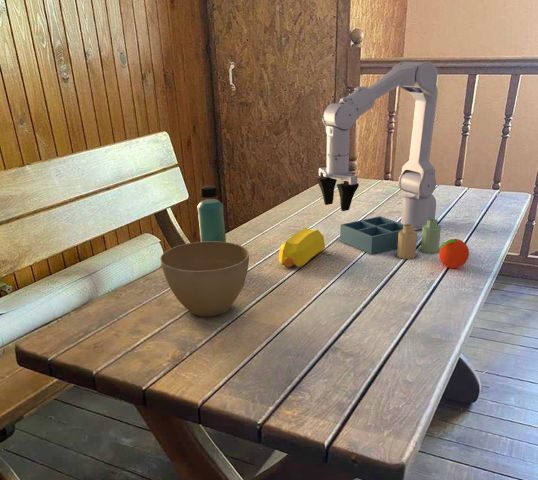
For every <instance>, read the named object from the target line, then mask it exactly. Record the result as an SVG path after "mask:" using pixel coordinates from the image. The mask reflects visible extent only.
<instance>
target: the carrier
mask: <svg viewBox="0 0 538 480" xmlns="http://www.w3.org/2000/svg"><path fill="white" fill-rule="evenodd" d="M398 222H399V221H395V220H392V219H389V218H386V217H384V216H381V215H378V216H375V217H370V218H364V219H359V220H356V221H355V220H354V221H351V222H346V223H341V224H340V227H339V228H340V229H339V232H340V233H339V236H340V237H339V241H340V242H342V243H345V244H347V245H349V246H352V247H353V248H356V249H358V250H361V251H363V252H365V253H367V254H370V255H374V254H379V253H383V252H386V251H391V250H394V249H397V248H398V235H399V231H401V230H403V225H404V224H401V223H398Z"/></svg>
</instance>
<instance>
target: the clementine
mask: <svg viewBox="0 0 538 480" xmlns="http://www.w3.org/2000/svg"><path fill="white" fill-rule="evenodd" d="M469 256H470V249H469V246H468V245H467V243H466V242H464V241H463V240H461V239H458V238H451V239H449V240H448V239H447V240H446V241H445V242H443V244H442V245H441V246H440V247H439V250H438V258H439V261H440V262H441V264H442V265H443V266H444V267H446V268H449V269H458V268H460V267H462V266H464V265H465V264H466V263H467V261H468V259H469Z"/></svg>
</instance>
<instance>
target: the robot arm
mask: <svg viewBox="0 0 538 480" xmlns="http://www.w3.org/2000/svg"><path fill="white" fill-rule="evenodd" d="M438 77H439V70H438V68H437V67H436V66H435V65H434V63H432V62H431V61H428V60H427V61H408V60H402V61H400V62H399V63H398V64H395V65H393V66H392V68H391V70H389V71H388V72H387V73H386V74H384V75H383V76H382V77H380V78H379V79H378V80H376V81H375V82H374V83H373V84H371V85H370V86H369V87H367V86H364V85H363V86H356V87H355V88H353V90H354V91H352V92H351V93H350V94H348V95H347V96H345V97H344V96H343V97H341V98H340V99H339V101H338V103H337V102H336V103H335V102H333V103H330V104H328V105H327V107H326V108H325V110H324V112H323V115H321V120H322V123H323V125H324V126H325V133H326V166H323V167H319V168H318V176H319V177H318V178H316V182H317V184H318V186H319V188H320V191H321V194H322V198H323V203H324V205H325V206H328V205H333V203H334V196H335V187H337V190H338V193H339V200H340V202H339V203H340V204H339V205H340V211H341V212H346V211H350V208H351V204H352V201H353V198H354V195H355V194H356V192H357V190H358V188H359V186H360V184H359V183H358V175H356V174H353V173H352V172H351V171H349V169H350V138H351V137H350V135H351V133H350V132H351V128H352V127H353V126H354V124H355V121H356V120H357V119H358V118H359V117H361V116H363V115H364V114H365V113H366V112H368V111H370V110H371V109H372V108H374V106H375V102H376V100H378V99H379V98H381V97H383V96H384V95H386V94H388V93H389V92H391V91H393V90H394V89H396V88H398V87H399V88H400V89H402V90H404V91H406V92H408V93H409V94H410V96H411V97H412V98H413V99H414V100H415V102H414V112H413V122H412V129H411V139H410V148H409V158H408V160H407V161H406V163H404V164H403V165H402V166H401V173H400V174H399V177H398V182H397V185H398V188H399V190H400V191H401V195H403V196H402V204H401V205H402V207H401V218H400V219H401V220H400V221H397V222H398V223H401V224H404V225H405V224H412V225H414V231H418V230H422V229H423V226H424V225H427V220H428V219H436V212H437V200H436V197H435V195H433V193H434V191H435V190H436V187H437V179H436V169H435V167H434V165H433V164H432V163H431V162H430V157H431V149H432V140H433V132H434V126H435V117H436V108H437V102H438V94H439V93H438ZM337 181H340V182H342V183H337ZM336 183H337V184H336Z"/></svg>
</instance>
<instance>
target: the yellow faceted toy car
mask: <svg viewBox="0 0 538 480" xmlns="http://www.w3.org/2000/svg"><path fill="white" fill-rule="evenodd" d="M324 249H326V245H325V238H324V235H323V234H322V233H321V232H320V231H319V229H310V228H307V227H305V228H303V229H301V230H299V231H297V232H296V233H294V234H293V235H292V236H290V237H289V238H288V239H287V240H286V241H285V242H284V243H283V244H281V246H279V250H278V251H279V252H278V261H279V263H280V265H281V266H285V267H288V268H292V267H293V266H294V265H295V266H296V267H298V268H300V269H301V268H302V267H303V266H305V264H307V263H308V262H309V261H310V260H311V259H312V258H313V257H315V256H317V255H319V254H320V253H321V252H322V251H323V250H324Z"/></svg>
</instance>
